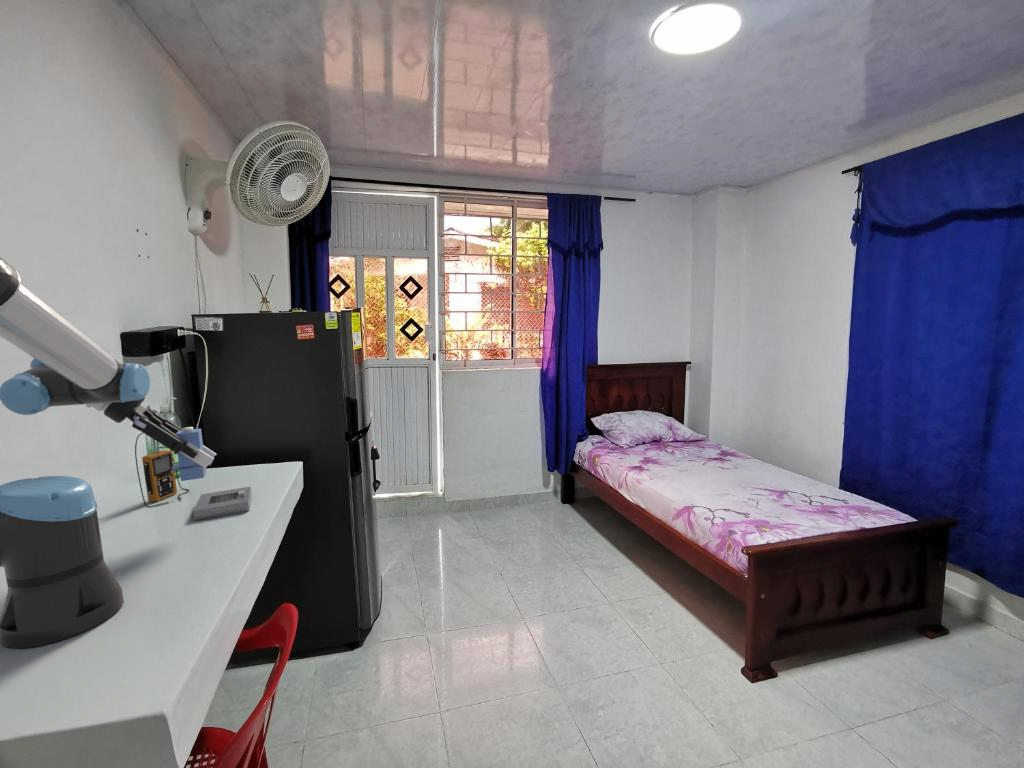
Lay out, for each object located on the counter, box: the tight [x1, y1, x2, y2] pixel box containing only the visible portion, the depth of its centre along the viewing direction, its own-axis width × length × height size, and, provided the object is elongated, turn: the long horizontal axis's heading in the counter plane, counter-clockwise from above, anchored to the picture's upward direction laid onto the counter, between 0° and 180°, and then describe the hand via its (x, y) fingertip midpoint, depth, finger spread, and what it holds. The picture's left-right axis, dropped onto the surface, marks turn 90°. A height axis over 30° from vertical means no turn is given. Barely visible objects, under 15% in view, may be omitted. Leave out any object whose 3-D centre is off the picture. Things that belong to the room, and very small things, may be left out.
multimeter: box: [134, 432, 190, 508], centre depth 140 cm, size 15×10×20 cm
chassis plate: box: [193, 486, 253, 521], centre depth 132 cm, size 14×12×3 cm
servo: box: [171, 426, 213, 482], centre depth 116 cm, size 4×8×12 cm, turn 115°
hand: (210, 460), depth 118 cm, fingers closed on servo, 4 cm apart
